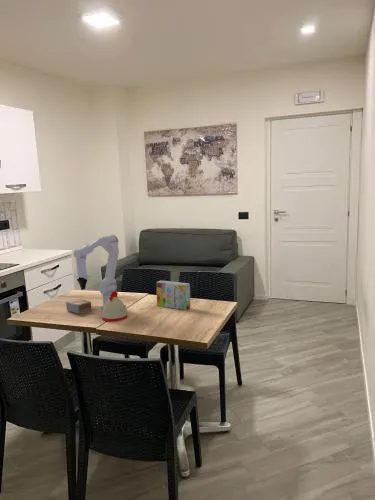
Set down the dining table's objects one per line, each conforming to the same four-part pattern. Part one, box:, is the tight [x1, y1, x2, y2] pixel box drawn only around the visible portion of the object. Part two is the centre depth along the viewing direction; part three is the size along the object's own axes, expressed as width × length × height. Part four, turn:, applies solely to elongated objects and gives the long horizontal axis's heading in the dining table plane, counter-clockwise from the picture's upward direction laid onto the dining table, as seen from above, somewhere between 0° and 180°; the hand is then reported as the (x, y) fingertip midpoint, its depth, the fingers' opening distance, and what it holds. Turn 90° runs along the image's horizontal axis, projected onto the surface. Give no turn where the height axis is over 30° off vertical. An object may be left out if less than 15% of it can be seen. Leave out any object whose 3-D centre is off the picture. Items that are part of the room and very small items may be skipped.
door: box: [65, 301, 80, 315], centre depth 238 cm, size 13×1×6 cm, turn 47°
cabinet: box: [67, 298, 92, 315], centre depth 241 cm, size 12×8×5 cm, turn 46°
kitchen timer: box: [101, 290, 128, 323], centre depth 225 cm, size 14×14×15 cm
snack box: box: [155, 280, 191, 311], centre depth 240 cm, size 21×6×15 cm, turn 58°
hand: (83, 289), depth 254 cm, fingers closed
